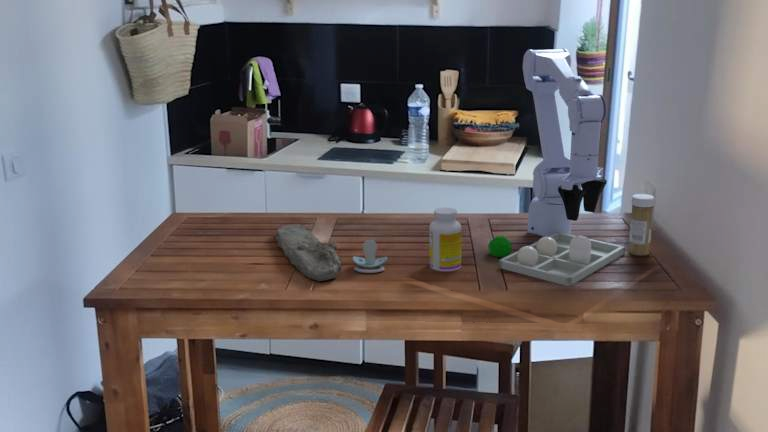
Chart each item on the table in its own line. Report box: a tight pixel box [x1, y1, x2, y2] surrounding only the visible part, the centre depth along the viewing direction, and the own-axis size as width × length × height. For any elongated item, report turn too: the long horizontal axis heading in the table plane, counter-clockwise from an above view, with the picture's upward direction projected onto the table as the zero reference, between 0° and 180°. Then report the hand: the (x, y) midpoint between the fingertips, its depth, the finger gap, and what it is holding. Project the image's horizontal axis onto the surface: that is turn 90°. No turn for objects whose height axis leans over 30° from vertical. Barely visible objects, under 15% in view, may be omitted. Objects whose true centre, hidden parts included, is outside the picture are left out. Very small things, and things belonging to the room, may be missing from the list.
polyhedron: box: [488, 235, 513, 258], centre depth 171 cm, size 5×5×5 cm
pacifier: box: [352, 238, 388, 274], centre depth 165 cm, size 7×6×6 cm
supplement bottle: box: [428, 207, 462, 272], centre depth 163 cm, size 7×7×13 cm
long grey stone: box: [274, 223, 342, 282], centre depth 174 cm, size 35×5×10 cm
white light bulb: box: [569, 234, 591, 265], centre depth 163 cm, size 4×4×6 cm
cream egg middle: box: [537, 236, 557, 257], centre depth 169 cm, size 4×4×4 cm
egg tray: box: [498, 232, 626, 288], centre depth 167 cm, size 16×24×2 cm
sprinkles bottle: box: [628, 193, 655, 256], centre depth 169 cm, size 5×5×13 cm
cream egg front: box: [517, 245, 538, 267], centre depth 163 cm, size 4×4×4 cm
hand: (580, 215), depth 168 cm, fingers open, 7 cm apart
